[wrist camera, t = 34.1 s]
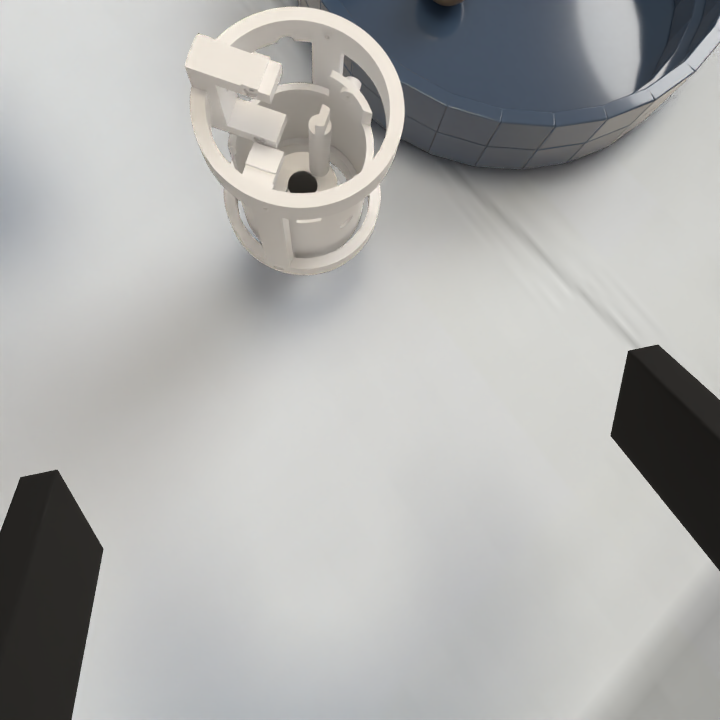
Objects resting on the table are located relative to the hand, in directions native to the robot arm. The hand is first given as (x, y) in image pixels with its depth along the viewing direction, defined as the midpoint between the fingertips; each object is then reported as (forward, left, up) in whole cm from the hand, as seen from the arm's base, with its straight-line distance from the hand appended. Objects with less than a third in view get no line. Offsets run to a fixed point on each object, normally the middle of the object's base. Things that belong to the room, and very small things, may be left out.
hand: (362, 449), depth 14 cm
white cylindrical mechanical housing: (-9, +7, -18) cm, 22 cm away
